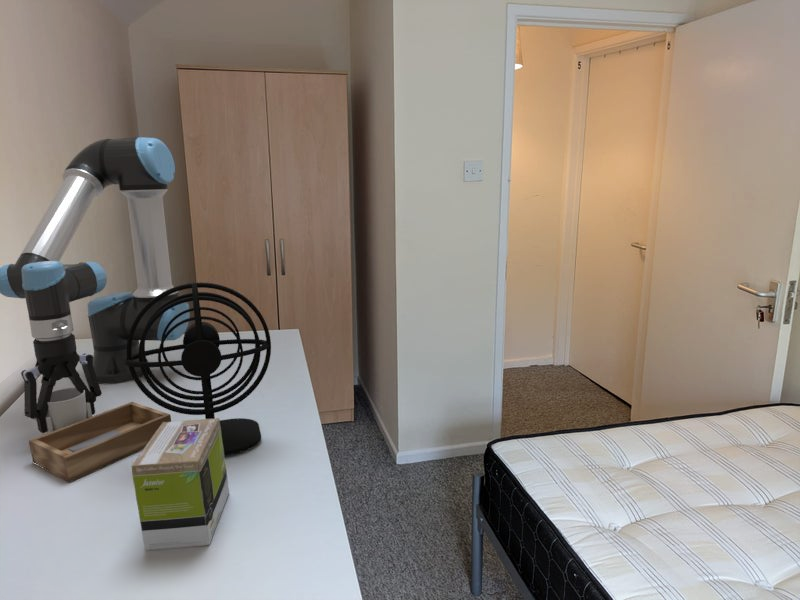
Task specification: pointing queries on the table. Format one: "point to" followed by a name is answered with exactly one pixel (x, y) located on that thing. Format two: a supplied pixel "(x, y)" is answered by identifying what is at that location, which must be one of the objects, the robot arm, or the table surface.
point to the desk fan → (203, 362)
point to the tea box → (181, 484)
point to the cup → (66, 407)
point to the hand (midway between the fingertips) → (70, 436)
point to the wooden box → (96, 441)
